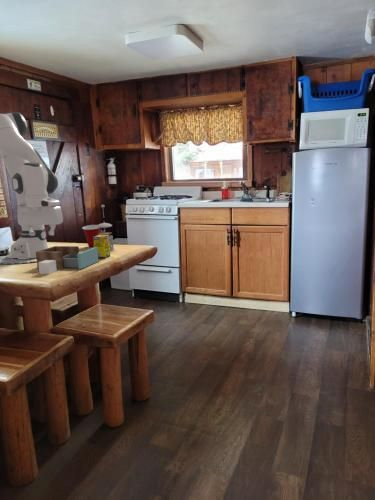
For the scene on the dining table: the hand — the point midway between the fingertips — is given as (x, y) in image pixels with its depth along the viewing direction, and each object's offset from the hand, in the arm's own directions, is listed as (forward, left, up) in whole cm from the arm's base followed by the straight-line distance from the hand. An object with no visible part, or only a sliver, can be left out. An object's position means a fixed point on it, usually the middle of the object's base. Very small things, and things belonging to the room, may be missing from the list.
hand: (42, 235), depth 162 cm
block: (0, +1, -16) cm, 16 cm away
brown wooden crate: (-3, +15, -16) cm, 22 cm away
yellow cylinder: (+9, +33, -16) cm, 38 cm away
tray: (+6, +15, -16) cm, 23 cm away
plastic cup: (-12, +61, -16) cm, 64 cm away
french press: (+3, +48, -16) cm, 50 cm away
